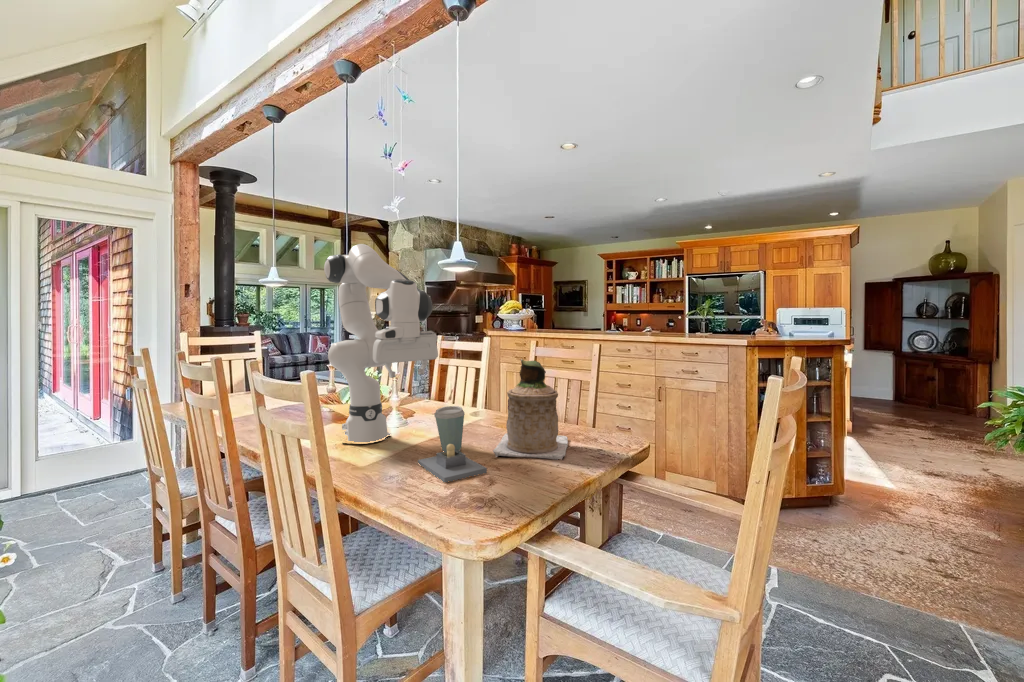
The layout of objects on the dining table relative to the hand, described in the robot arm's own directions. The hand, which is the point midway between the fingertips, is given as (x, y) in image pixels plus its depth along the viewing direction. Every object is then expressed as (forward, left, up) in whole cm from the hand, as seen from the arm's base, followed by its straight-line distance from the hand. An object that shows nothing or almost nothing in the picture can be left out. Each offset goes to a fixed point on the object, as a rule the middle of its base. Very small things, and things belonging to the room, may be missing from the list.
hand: (407, 375), depth 146 cm
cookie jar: (+7, +43, -29) cm, 52 cm away
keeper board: (+9, +10, -29) cm, 32 cm away
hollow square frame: (+9, +10, -28) cm, 31 cm away
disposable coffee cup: (-8, +18, -29) cm, 35 cm away
